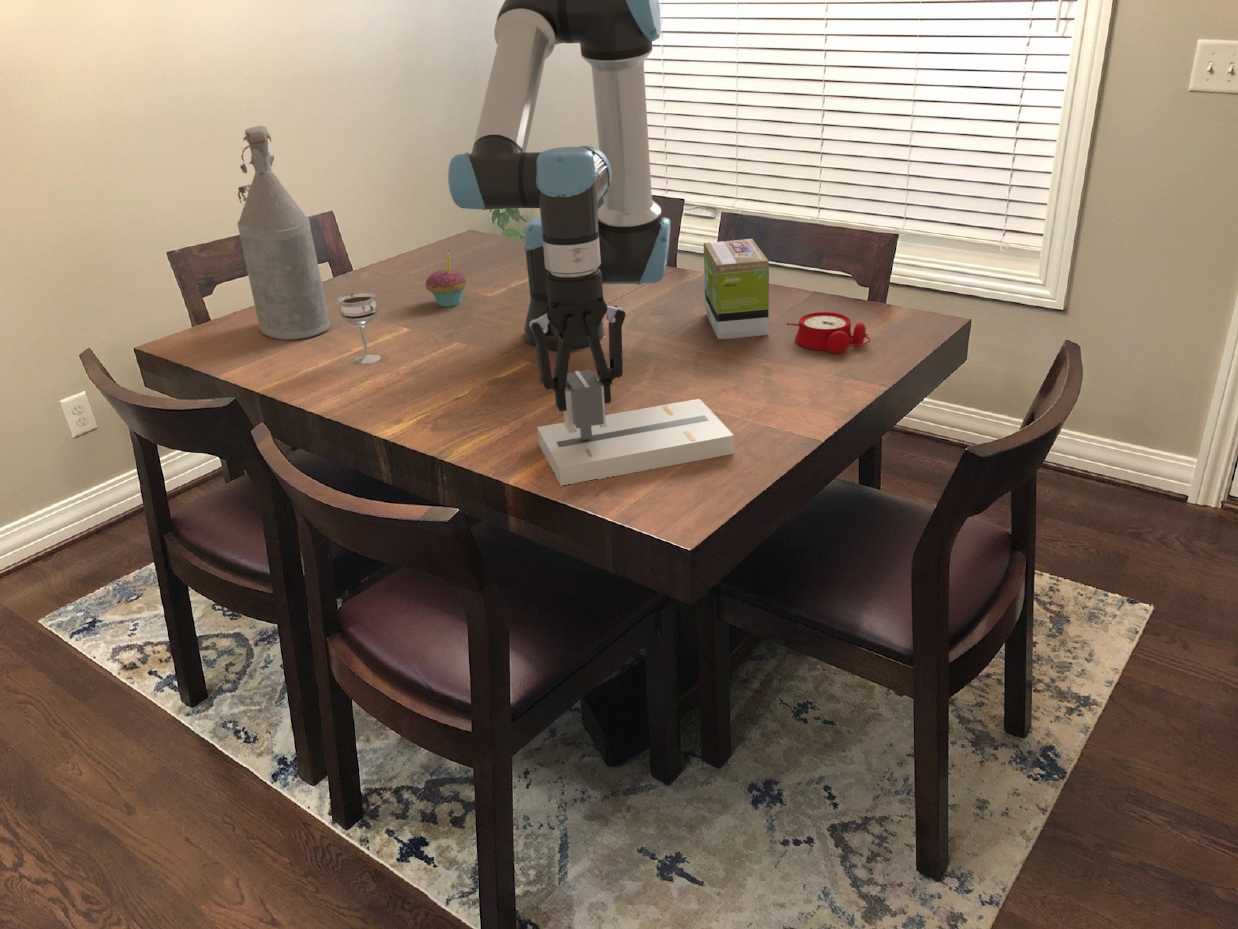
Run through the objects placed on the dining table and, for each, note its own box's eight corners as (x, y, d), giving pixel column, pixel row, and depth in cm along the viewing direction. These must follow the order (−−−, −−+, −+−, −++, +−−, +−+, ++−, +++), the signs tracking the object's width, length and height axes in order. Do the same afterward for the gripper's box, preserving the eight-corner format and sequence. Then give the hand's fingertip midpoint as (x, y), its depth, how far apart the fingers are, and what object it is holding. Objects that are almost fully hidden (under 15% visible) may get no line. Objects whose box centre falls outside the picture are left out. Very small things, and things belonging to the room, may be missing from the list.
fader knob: (567, 430, 150) (562, 373, 146) (593, 426, 151) (589, 368, 147) (578, 448, 145) (573, 388, 140) (605, 443, 146) (601, 384, 141)
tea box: (703, 314, 202) (702, 240, 195) (753, 310, 203) (754, 236, 196) (716, 340, 189) (715, 263, 182) (769, 336, 189) (771, 258, 182)
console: (538, 445, 154) (537, 426, 153) (699, 416, 160) (699, 398, 159) (560, 486, 142) (559, 467, 141) (733, 453, 148) (733, 434, 147)
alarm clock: (816, 307, 191) (881, 307, 180) (821, 340, 193) (885, 342, 182) (778, 321, 186) (843, 322, 174) (784, 355, 188) (847, 358, 176)
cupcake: (477, 299, 218) (470, 244, 212) (451, 312, 211) (443, 255, 206) (446, 294, 222) (439, 240, 216) (420, 306, 216) (411, 251, 210)
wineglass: (373, 349, 194) (362, 289, 189) (393, 357, 190) (382, 296, 184) (342, 360, 190) (330, 298, 185) (361, 368, 186) (350, 306, 180)
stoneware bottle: (296, 312, 217) (255, 118, 198) (345, 327, 207) (307, 124, 188) (243, 330, 208) (195, 129, 190) (292, 346, 198) (246, 135, 180)
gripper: (516, 285, 131) (533, 447, 142) (642, 268, 135) (649, 427, 146) (505, 270, 137) (522, 426, 148) (626, 253, 141) (634, 406, 152)
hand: (585, 426), depth 147 cm, fingers closed on fader knob, 4 cm apart
